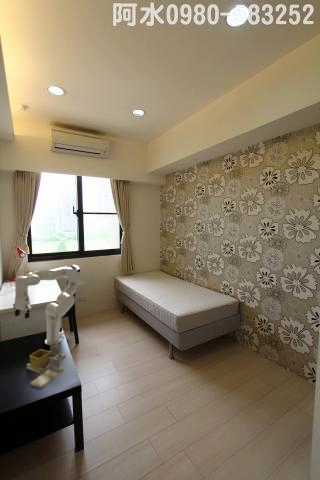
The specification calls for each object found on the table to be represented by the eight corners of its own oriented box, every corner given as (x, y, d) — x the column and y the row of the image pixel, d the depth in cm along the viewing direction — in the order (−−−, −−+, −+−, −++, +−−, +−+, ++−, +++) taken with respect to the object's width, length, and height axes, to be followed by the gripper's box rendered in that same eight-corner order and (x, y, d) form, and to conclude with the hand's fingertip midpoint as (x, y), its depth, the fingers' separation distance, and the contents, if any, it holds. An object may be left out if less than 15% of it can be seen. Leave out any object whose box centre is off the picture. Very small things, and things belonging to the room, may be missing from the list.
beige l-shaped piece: (53, 367, 147) (53, 353, 146) (63, 370, 144) (63, 356, 143) (31, 384, 131) (30, 369, 130) (41, 388, 128) (40, 373, 127)
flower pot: (40, 361, 153) (40, 348, 152) (50, 364, 150) (50, 351, 149) (29, 368, 145) (29, 355, 144) (39, 372, 142) (38, 358, 141)
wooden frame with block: (51, 352, 164) (51, 341, 163) (65, 356, 159) (65, 345, 159) (26, 368, 145) (26, 357, 144) (42, 373, 140) (42, 362, 140)
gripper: (35, 293, 157) (35, 316, 159) (18, 290, 163) (18, 312, 165) (25, 296, 150) (26, 321, 152) (8, 293, 156) (8, 316, 158)
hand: (22, 316), depth 158 cm, fingers open, 9 cm apart
